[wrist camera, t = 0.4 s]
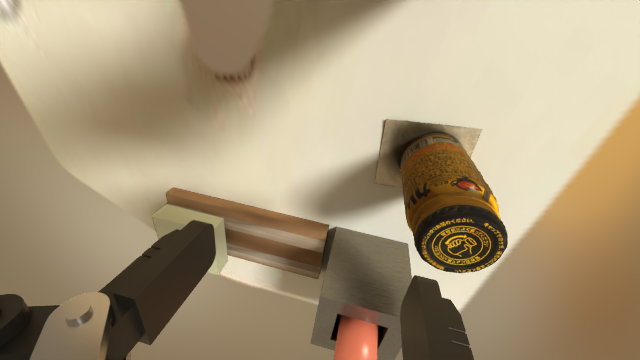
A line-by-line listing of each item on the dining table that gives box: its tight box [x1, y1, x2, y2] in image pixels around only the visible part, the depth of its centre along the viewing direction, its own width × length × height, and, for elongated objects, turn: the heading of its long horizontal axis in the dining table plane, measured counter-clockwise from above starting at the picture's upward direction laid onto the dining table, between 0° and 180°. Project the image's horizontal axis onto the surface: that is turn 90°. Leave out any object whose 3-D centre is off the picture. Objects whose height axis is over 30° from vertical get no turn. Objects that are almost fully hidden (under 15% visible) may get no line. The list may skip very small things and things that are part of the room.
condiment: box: [375, 119, 508, 273], centre depth 21 cm, size 7×8×12 cm
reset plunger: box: [334, 315, 378, 360], centre depth 26 cm, size 4×4×6 cm
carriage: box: [152, 204, 228, 275], centre depth 31 cm, size 8×8×10 cm
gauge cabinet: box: [311, 227, 412, 360], centre depth 30 cm, size 9×9×10 cm
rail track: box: [165, 188, 329, 279], centre depth 35 cm, size 9×22×2 cm, turn 83°
